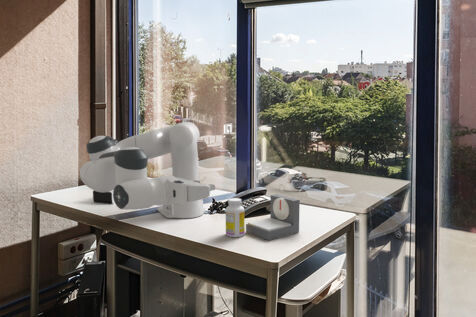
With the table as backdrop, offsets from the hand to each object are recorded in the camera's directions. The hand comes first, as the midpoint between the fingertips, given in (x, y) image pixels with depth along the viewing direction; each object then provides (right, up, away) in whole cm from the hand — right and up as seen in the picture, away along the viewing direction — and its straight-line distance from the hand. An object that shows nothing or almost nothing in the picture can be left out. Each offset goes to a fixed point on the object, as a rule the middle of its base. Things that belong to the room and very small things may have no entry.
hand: (205, 184), depth 132 cm
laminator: (-47, -11, +74) cm, 88 cm away
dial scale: (+23, -18, +13) cm, 32 cm away
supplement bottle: (+10, -19, +10) cm, 23 cm away
